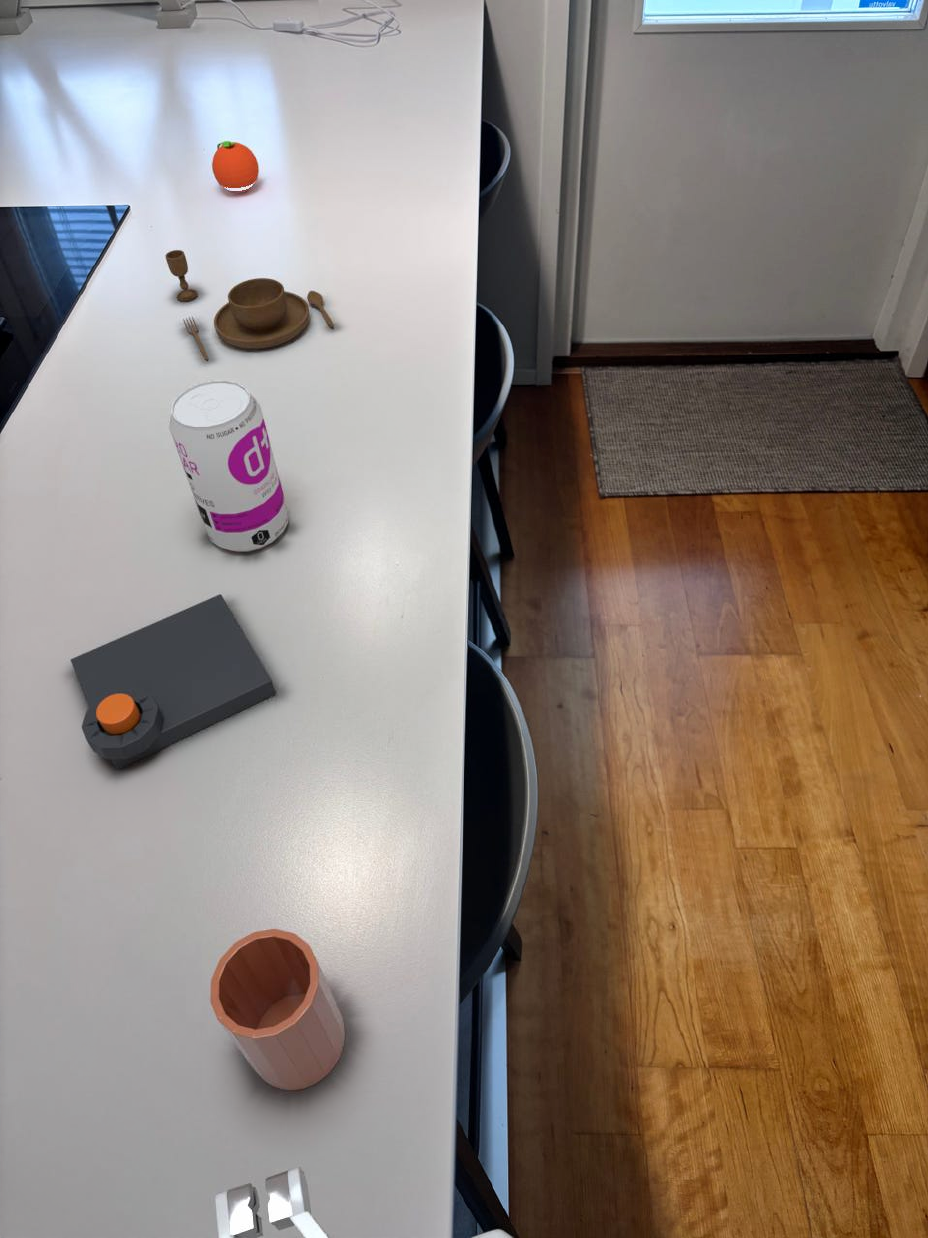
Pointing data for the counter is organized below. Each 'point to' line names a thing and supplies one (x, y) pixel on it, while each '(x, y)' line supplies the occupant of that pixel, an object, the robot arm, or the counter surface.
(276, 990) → the cup
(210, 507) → the supplement can
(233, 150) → the clementine
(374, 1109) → the counter surface
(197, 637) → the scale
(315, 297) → the place setting
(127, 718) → the button
